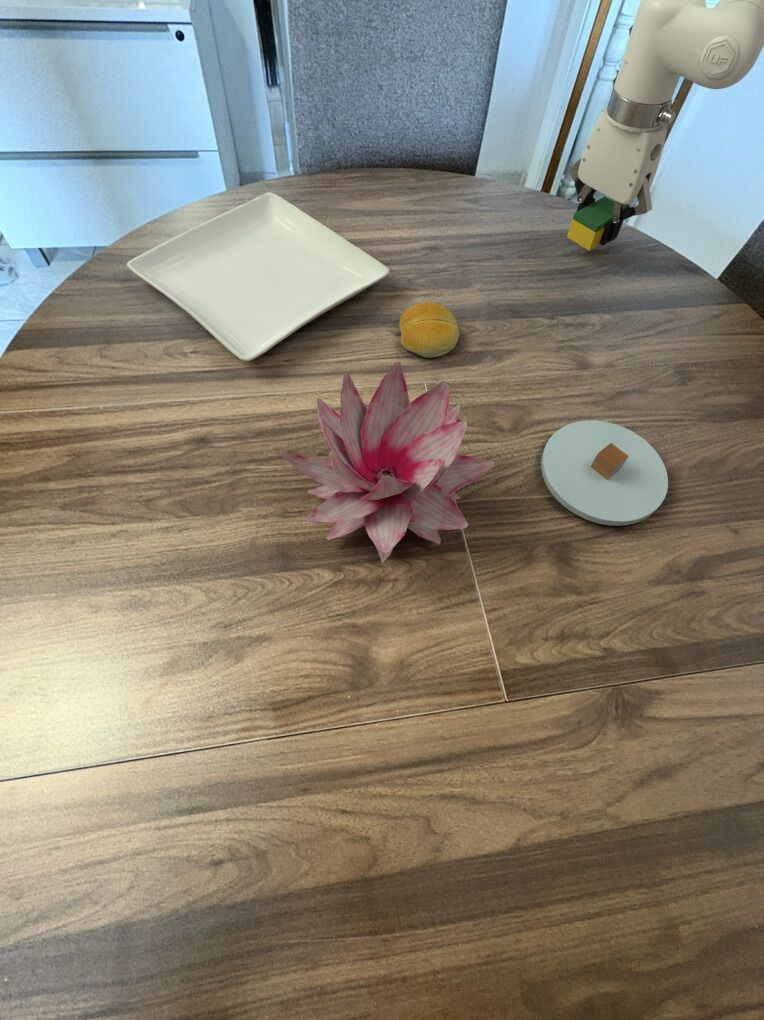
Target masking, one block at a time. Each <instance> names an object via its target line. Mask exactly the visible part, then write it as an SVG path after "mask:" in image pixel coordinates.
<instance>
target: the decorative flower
mask: <svg viewBox="0 0 764 1020" xmlns="http://www.w3.org/2000/svg"><path fill="white" fill-rule="evenodd" d="M405 378H406V377H405V375H404V372H403V368H402V364H401V362H400V361H399V362H398V361H397V362H394V363H393V364H392V366H391V367H390V369H389V370H388V371H387V372H386V374H385V375H384V377H383V378H381V381H380V382H379V384H378V387H377V389H376V390H375V391H374V394H373V396H372V397H371V400H370V401H369V404H368V407H367V406H366V404H365V402H364V399H362V397H361V395H360V393H359V391H358V389H357V387H356V385H355V383H354V381H353V379H352V378H351V375H350V374H349V372H348V371H344V373H343V379H342V383H341V390H340V414H339V413H338V412H337V411H335V410H334V409H333V408H332V407H331V406H330V405H328V404H327V403H326V402H325V401H324V400H323V399H321V398H320V397H319V398H318V397H317V398H316V409H317V417H318V423H319V426H320V429H321V431H322V433H323V436H324V438H325V440H326V441H327V444H328V446H329V447H330V449H331V450H330V451H329V454H328V456H327V458H326V457H325V458H324V457H314V456H306V455H300V454H299V455H298V454H293V453H287V452H280V454H279V455H280V456H281V457H282V458H283V459H284V460H286V461H287V462H288V464H290V465H291V466H292V467H294V468H295V469H296V470H297V471H298V472H300V473H301V474H303V475H305V476H306V477H308V478H310V479H312V480H314V481H315V482H317V483H318V484H320V485H321V486H317V487H315V488H311V489H308V490H307V494H311V495H313V496H316V497H318V498H321V499H323V500H325V501H324V502H322V503H321V504H320V505H318V507H316V508H314V510H312V511H311V512H310V513H309V514H307V516H305V517H304V518H303V519H304V520H305V521H307V522H313V523H320V524H325V523H327V524H330V523H334V524H333V525H332V527H331V529H330V531H329V532H328V534H327V536H326V538H325V540H328V541H330V540H333V539H336V538H340V537H343V536H347V535H348V534H350V533H352V532H354V531H356V530H358V529H360V528H361V527H365V530H366V532H367V535H368V537H369V538H370V540H371V541H372V543H373V544H374V547H375V549H376V551H377V554H378V556H379V558H380V561H381V564H384V562H385V561H386V560H387V559H388V558H389V557H390V555H391V554H392V551H393V549H394V548H395V546H397V544H398V543H399V542H400V541H401V540H402V538H403V537H405V535H406V533H407V529H408V530H410V531H411V532H413V533H414V534H416V535H417V536H418V537H421V538H423V539H425V540H428V541H430V542H432V543H434V544H437V545H440V544H441V543H442V539H441V537H440V533H439V531H447V530H448V531H451V530H463V529H466V528H467V527H469V523H468V521H467V519H466V518H465V517H466V516H465V515H464V514H463V513H464V512H462V511H461V509H460V508H459V506H458V505H457V504H456V502H455V501H457V500H460V499H461V496H460V495H458V494H457V493H456V491H458V490H460V489H462V488H464V487H466V486H467V485H469V484H471V483H472V482H475V481H477V480H478V479H480V478H481V477H482V476H483V475H485V474H486V473H487V472H489V471H490V470H491V469H492V468H493V467H494V466H495V462H494V461H493V460H490V459H484V458H479V457H473V456H469V455H462V454H461V455H460V454H458V453H459V450H460V447H461V444H462V441H463V439H464V436H465V433H466V431H467V428H468V423H467V420H461V421H458V419H459V415H460V410H461V405H460V404H458V403H457V404H455V405H452V406H450V387H449V385H450V384H449V382H446V381H444V380H442V382H440V383H438V384H436V385H435V386H433V387H432V388H430V389H429V390H427V391H425V392H424V393H422V394H421V395H419V396H418V397H416V398H415V399H414V400H413V401H412V402H411V401H410V397H409V391H408V386H407V381H406V379H405Z"/></svg>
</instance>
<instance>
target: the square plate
mask: <svg viewBox="0 0 764 1020" xmlns="http://www.w3.org/2000/svg"><path fill="white" fill-rule="evenodd" d="M125 265H126V267H127V268H128V269H129V270H130V271H131V272H132V273H133V274H134V275H136V276H137V277H139V278H140V279H141V280H142V281H144V282H146V283H147V284H149V285H150V286H152V287H153V288H154V289H155V290H157V291H159V292H160V293H161V294H163V295H164V296H165V297H166V298H168V299H169V300H171V301H172V302H173V303H174V304H176V305H177V306H178V307H179V308H181V309H182V310H183V311H185V313H187V314H188V315H189V316H190V317H192V318H193V319H194V320H195V321H196V322H197V323H198V324H200V325H201V327H203V328H204V329H205V330H206V331H207V332H208V333H209V334H211V336H213V337H214V338H215V339H216V340H217V341H218V342H219V343H220V344H221V345H222V346H223V347H224V348H226V349H227V350H228V351H229V352H230V353H231V354H233V355H234V356H235V357H237V359H239V360H240V361H242V362H249V361H253V360H254V359H257V358H258V357H260V356H261V355H263V354H264V353H267V352H268V351H269V350H270V349H272V348H273V347H275V346H276V345H278V344H279V343H281V342H282V341H283V340H284V339H286V338H288V337H289V336H290V335H292V334H293V333H295V332H296V331H298V330H299V329H301V328H302V327H304V326H306V325H307V324H309V323H310V322H312V321H314V320H315V319H317V318H319V317H320V316H321V315H323V314H325V313H326V312H328V311H331V310H332V309H333V308H335V307H337V306H339V305H340V304H342V303H344V302H345V301H348V300H349V299H352V298H353V297H355V296H357V295H358V294H360V293H361V292H363V291H365V290H366V289H368V288H369V287H371V286H373V285H374V284H376V283H378V282H379V281H381V280H383V279H385V277H387V276H388V275H389V274H390V273H391V272H390V271H391V270H390V269H389V267H388V266H386V265H385V264H384V263H382V262H380V261H379V260H377V259H376V258H374V257H373V256H372V255H370V254H369V253H367V252H366V251H364V250H363V249H361V248H359V247H358V246H357V245H355V244H353V243H352V242H350V241H348V240H347V239H346V238H344V237H343V236H342V235H340V234H338V233H337V232H335V231H334V230H332V229H330V228H329V227H328V226H326V225H324V224H323V223H321V222H320V221H318V220H316V219H315V218H313V217H312V216H310V215H309V214H307V213H306V212H304V211H303V210H301V209H300V208H298V207H296V206H295V205H293V204H292V203H290V202H289V201H287V200H285V199H284V198H282V197H281V196H279V195H277V194H276V193H275V192H265V193H263V194H261V195H258V196H257V197H254V198H252V199H250V200H247V201H245V202H243V203H241V204H240V205H237V206H236V207H233V208H231V209H229V210H227V211H225V212H222V213H220V214H219V215H217V216H214V217H213V218H210V219H208V220H206V221H204V222H202V223H200V224H198V225H196V226H194V227H192V228H190V229H188V230H186V231H184V232H182V233H180V234H178V235H176V236H174V237H172V238H170V239H168V240H166V241H164V242H162V243H160V244H158V245H157V246H154V247H152V248H150V249H149V250H146V251H145V252H143V253H140V254H138V255H137V256H135V257H133V258H131V259H130V260H128V261H127V262H126V264H125Z"/></svg>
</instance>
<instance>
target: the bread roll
mask: <svg viewBox="0 0 764 1020" xmlns="http://www.w3.org/2000/svg"><path fill="white" fill-rule="evenodd" d="M398 325H399V330H400V333H401V335H400V343H401V346H403V348H404V349H405V350H406V351H409V352H411V353H413V354H416V355H418V356H420V357H422V358H428V359H429V358H430V359H432V358H433V359H434V358H438V357H442V356H444V355H446V354H448V353H450V352H451V351H452V350H453V349H454V348H455V347H456V345H457V344H458V341H459V338H460V329H459V326H458V323H457V319H456V317H455V316H454V314H453V313H452V312H451V310H450V309H449V308H448V307H446V306H445V305H442V304H441V303H437V302H432V301H426V302H420V303H419V302H418V303H416V304H413V305H411V306H409V307H407V308H406V309H405V310H404V312H403V313H402V314H401V316H400V319H399V323H398Z"/></svg>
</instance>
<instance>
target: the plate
mask: <svg viewBox="0 0 764 1020" xmlns="http://www.w3.org/2000/svg"><path fill="white" fill-rule="evenodd" d="M610 443H612V444H613V445H615V446H616V447H617V448H619V449H620V450H621V451H623V452H624V453H625V454H626V455H628V456H629V457H628V458H627V460H626V461H625V463H624V464H623V466H622V468H621V469H620V470H619V471H618V472H617V473H615V474H614V475H613V476H612V477H611V478H609V479H608V480H606V479H605V478H604V477H603V476H601V475H600V474H599V473H598V472H596V471H595V470H594V469H593V468H591V467H590V466H591V464H592V463H593V461H594V459H595V457H596V456H597V454H598V453H599V452H600V451H601V450H603V449H604V448H605V447H606V446H608V445H609V444H610ZM540 469H541V475H542V478H543V481H544V484H545V485H546V487H547V489H548V490H549V492H550V494H551V495H552V496H553V497H554V498H555V500H556V501H557V502H559V503H560V505H562V506H563V507H564V508H566V509H567V510H568V511H569V512H571V513H573V514H574V515H576V516H578V517H580V518H581V519H583V520H586V521H589V522H592V523H595V524H600V525H606V526H613V527H614V526H617V527H619V526H629V525H633V524H636V523H639V522H642V521H644V520H646V519H648V518H649V517H650V516H652V515H653V514H654V513H655V512H656V511H657V510H658V509H659V508H660V506H661V505H662V503H663V502H664V501H665V498H666V496H667V493H668V489H669V477H668V476H669V475H668V471H667V468H666V466H665V463H664V461H663V459H662V458H661V456H660V455H659V453H658V452H657V450H656V449H655V448H654V447H653V446H652V445H651V444H650V443H649V442H648V441H647V440H646V439H644V438H643V437H642V436H640V435H639V434H638V433H636V432H634V431H632V430H630V429H628V428H626V427H624V426H622V425H619V424H616V423H613V422H609V421H604V420H591V419H590V420H580V421H575V422H572V423H569V424H566V425H565V426H562V427H561V428H559V429H557V430H556V431H555V432H554V433H553V434H552V435H551V436H550V437H549V439H548V440H547V442H546V444H545V446H544V448H543V451H542V453H541V459H540Z"/></svg>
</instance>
